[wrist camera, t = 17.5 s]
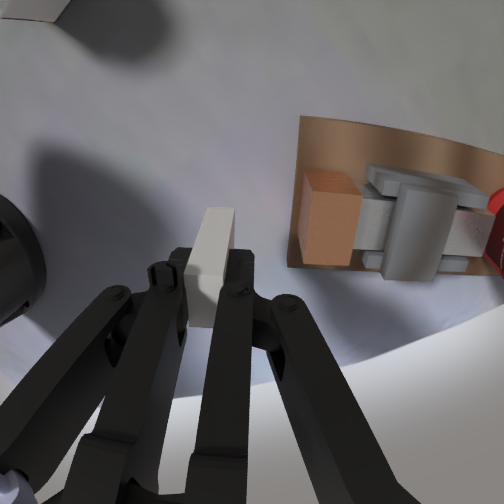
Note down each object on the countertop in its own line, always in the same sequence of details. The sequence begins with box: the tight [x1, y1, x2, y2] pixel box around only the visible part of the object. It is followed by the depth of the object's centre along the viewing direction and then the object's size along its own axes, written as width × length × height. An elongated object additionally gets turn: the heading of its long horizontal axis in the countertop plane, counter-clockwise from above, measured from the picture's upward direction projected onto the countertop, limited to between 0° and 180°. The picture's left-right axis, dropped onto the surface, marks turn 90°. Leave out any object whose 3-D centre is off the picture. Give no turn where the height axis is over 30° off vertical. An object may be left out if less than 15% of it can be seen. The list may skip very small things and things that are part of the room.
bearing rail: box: [287, 116, 504, 281], centre depth 21 cm, size 26×12×7 cm, turn 88°
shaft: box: [297, 168, 496, 266], centre depth 21 cm, size 15×5×5 cm, turn 88°
